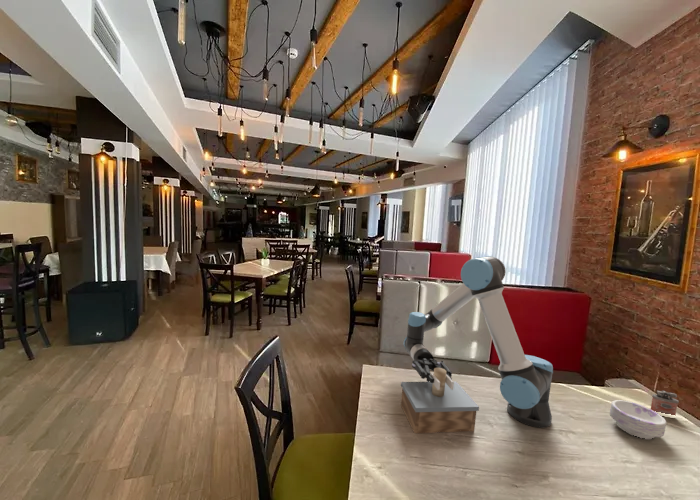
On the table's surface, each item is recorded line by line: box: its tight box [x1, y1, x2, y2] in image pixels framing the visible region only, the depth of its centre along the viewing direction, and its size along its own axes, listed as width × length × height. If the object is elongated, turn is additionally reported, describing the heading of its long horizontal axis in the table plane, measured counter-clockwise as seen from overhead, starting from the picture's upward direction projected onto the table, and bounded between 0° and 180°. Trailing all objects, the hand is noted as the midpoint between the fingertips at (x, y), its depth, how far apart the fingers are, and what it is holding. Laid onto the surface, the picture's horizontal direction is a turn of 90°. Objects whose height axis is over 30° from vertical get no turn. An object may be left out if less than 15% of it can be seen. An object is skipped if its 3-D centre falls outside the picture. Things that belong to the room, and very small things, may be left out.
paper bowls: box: [609, 399, 667, 440], centre depth 117 cm, size 15×15×8 cm
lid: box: [400, 368, 480, 412], centre depth 116 cm, size 23×17×10 cm
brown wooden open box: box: [400, 387, 477, 434], centre depth 117 cm, size 22×16×8 cm
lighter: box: [650, 390, 679, 416], centre depth 128 cm, size 8×3×10 cm, turn 68°
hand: (445, 385), depth 110 cm, fingers closed on lid, 4 cm apart
